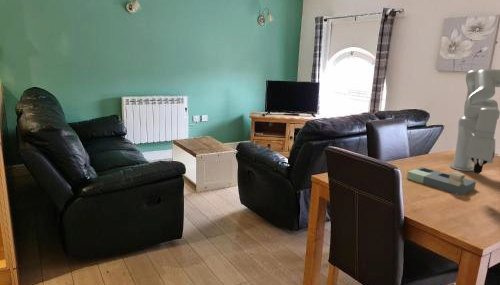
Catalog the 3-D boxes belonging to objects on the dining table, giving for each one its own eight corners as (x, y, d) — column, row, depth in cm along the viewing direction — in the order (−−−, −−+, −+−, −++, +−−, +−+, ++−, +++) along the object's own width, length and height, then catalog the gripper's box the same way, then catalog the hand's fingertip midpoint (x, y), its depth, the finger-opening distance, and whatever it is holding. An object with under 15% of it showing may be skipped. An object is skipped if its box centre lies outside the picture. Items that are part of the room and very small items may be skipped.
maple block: (452, 181, 181) (454, 171, 180) (463, 184, 177) (465, 174, 176) (448, 183, 178) (449, 173, 177) (458, 186, 174) (460, 176, 173)
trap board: (420, 173, 204) (421, 167, 203) (474, 189, 183) (475, 181, 182) (406, 178, 196) (407, 171, 195) (461, 195, 174) (462, 187, 173)
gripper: (463, 132, 170) (457, 169, 174) (499, 138, 158) (491, 178, 162) (470, 131, 174) (463, 167, 178) (506, 137, 163) (498, 175, 167)
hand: (477, 172), depth 170 cm, fingers closed
